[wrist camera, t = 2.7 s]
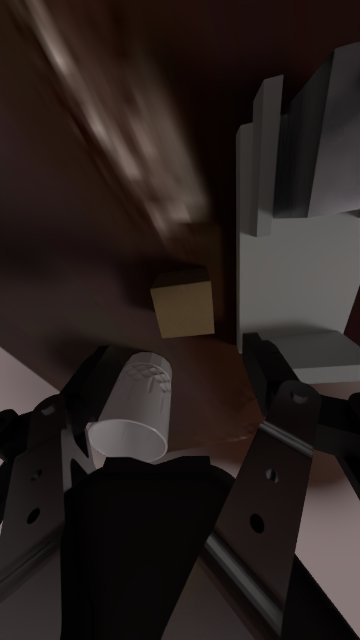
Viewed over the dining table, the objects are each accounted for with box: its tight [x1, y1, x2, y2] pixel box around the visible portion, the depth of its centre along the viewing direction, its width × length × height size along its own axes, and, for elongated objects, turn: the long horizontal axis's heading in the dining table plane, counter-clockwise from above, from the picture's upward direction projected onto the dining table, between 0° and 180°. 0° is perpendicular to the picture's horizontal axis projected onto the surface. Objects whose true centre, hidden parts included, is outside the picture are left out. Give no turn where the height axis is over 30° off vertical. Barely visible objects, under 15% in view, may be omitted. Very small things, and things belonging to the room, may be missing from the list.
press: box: [236, 75, 360, 384], centre depth 14 cm, size 21×11×6 cm, turn 9°
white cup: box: [88, 352, 172, 462], centre depth 22 cm, size 8×8×10 cm
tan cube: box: [150, 267, 215, 338], centre depth 18 cm, size 5×5×5 cm
